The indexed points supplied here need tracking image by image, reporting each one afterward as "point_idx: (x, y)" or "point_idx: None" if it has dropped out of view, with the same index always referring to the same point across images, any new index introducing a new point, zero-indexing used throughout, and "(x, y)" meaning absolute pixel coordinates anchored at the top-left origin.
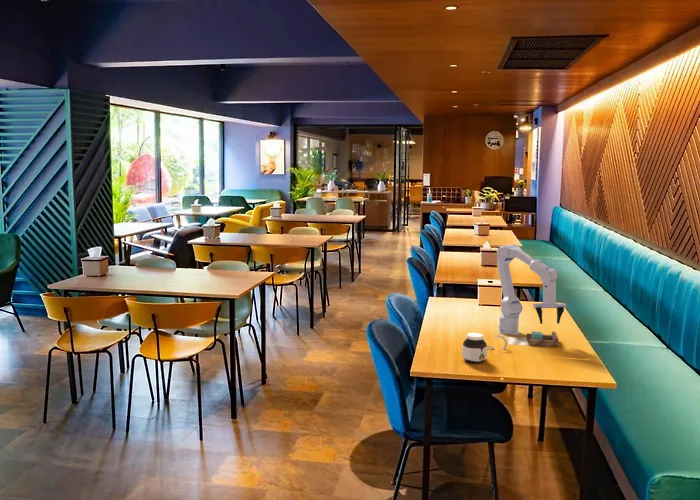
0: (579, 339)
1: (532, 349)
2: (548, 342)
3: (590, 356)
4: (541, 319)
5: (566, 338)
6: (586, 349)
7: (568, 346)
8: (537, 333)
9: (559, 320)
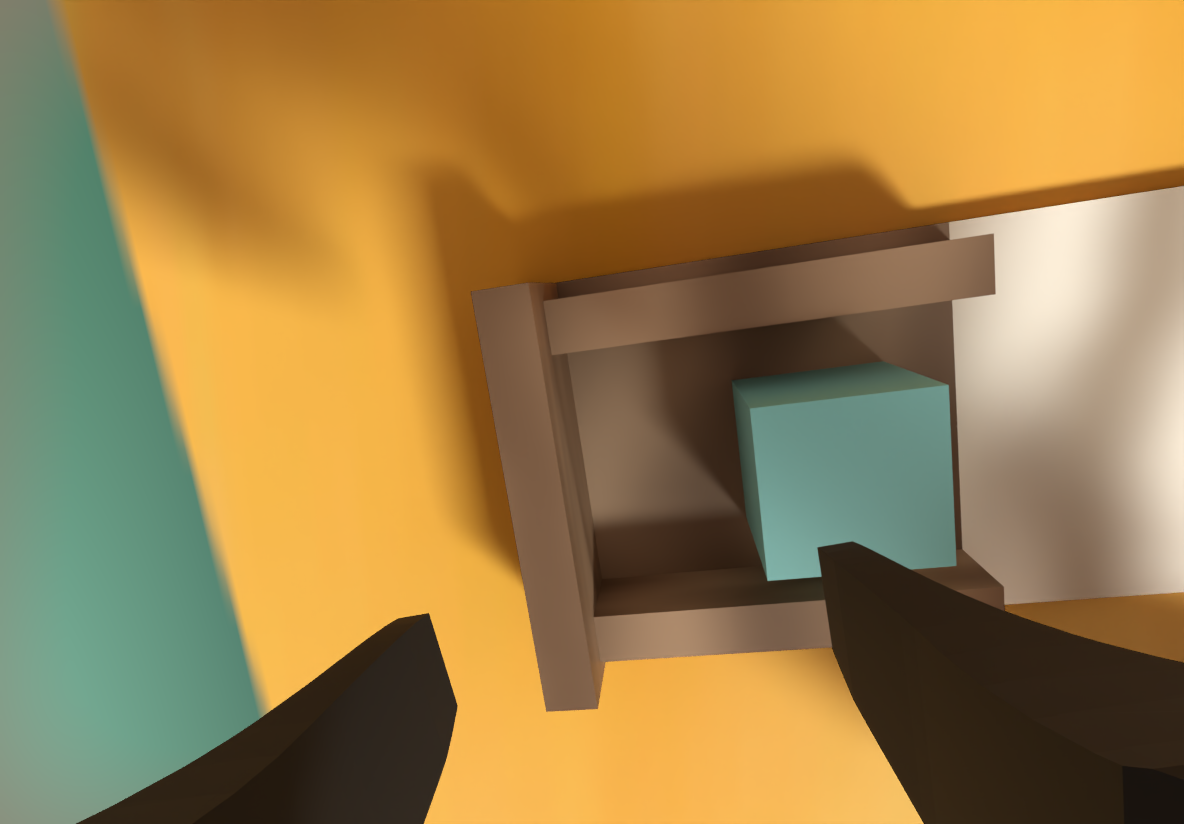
0: None
1: (881, 95)
2: (643, 286)
3: (98, 79)
4: (891, 582)
5: None
6: (180, 385)
7: (391, 442)
8: (854, 455)
9: (349, 656)
